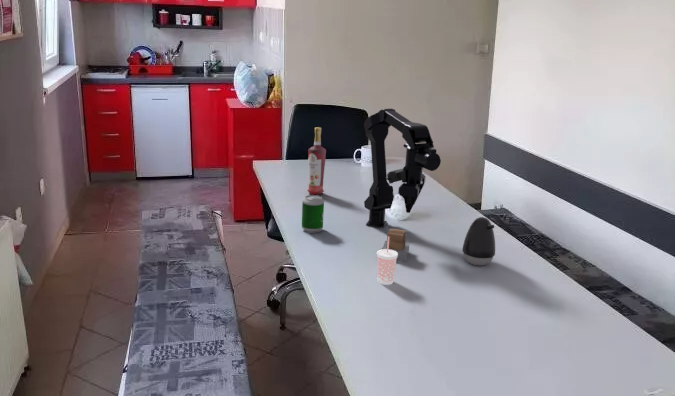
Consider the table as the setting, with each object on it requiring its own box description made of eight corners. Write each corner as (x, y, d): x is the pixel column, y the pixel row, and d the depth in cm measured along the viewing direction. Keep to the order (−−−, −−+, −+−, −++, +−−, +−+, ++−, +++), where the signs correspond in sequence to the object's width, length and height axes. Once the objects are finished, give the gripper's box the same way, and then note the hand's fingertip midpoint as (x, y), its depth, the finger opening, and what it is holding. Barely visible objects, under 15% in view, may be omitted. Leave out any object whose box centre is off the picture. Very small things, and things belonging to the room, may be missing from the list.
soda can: (320, 234, 219) (321, 201, 215) (299, 232, 220) (300, 199, 216) (324, 227, 226) (326, 195, 222) (304, 225, 227) (305, 193, 223)
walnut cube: (390, 242, 206) (391, 228, 204) (405, 245, 204) (406, 230, 203) (386, 247, 201) (387, 233, 200) (401, 250, 200) (402, 235, 198)
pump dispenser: (475, 271, 195) (481, 224, 190) (454, 258, 203) (459, 214, 199) (500, 266, 199) (506, 221, 195) (479, 254, 208) (484, 210, 203)
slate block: (384, 250, 209) (385, 240, 207) (408, 253, 207) (409, 243, 206) (381, 259, 201) (382, 249, 200) (406, 262, 200) (407, 252, 199)
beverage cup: (389, 287, 180) (393, 242, 176) (370, 282, 183) (374, 237, 179) (399, 280, 185) (403, 236, 181) (381, 275, 188) (384, 231, 184)
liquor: (327, 193, 266) (330, 127, 257) (317, 197, 260) (320, 130, 251) (313, 190, 269) (315, 125, 261) (303, 193, 263) (305, 127, 255)
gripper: (395, 154, 217) (391, 197, 221) (384, 167, 199) (381, 213, 204) (427, 158, 214) (423, 201, 219) (419, 171, 197) (415, 218, 201)
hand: (410, 208), depth 211 cm, fingers open, 9 cm apart
